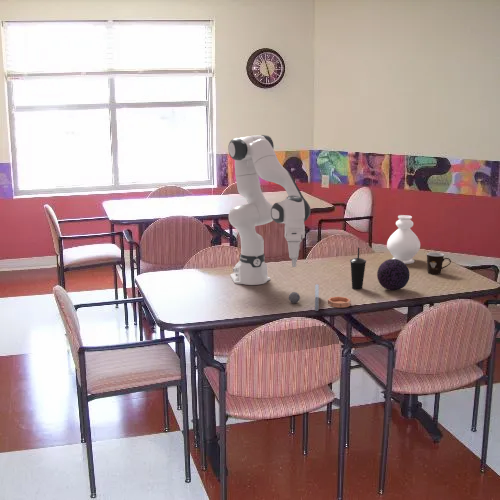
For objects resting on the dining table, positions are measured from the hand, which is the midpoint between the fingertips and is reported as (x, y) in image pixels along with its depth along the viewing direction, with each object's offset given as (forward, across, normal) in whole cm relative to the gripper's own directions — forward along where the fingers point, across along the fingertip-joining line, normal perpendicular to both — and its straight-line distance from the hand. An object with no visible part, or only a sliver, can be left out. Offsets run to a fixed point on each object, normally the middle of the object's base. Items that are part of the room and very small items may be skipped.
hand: (294, 264), depth 310 cm
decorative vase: (+18, -82, +56) cm, 101 cm away
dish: (+18, -1, +20) cm, 27 cm away
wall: (+18, 0, +10) cm, 21 cm away
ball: (+15, 0, 0) cm, 16 cm away
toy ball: (+18, -25, +46) cm, 55 cm away
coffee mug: (+18, -56, +71) cm, 92 cm away
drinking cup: (+18, -26, +29) cm, 43 cm away
